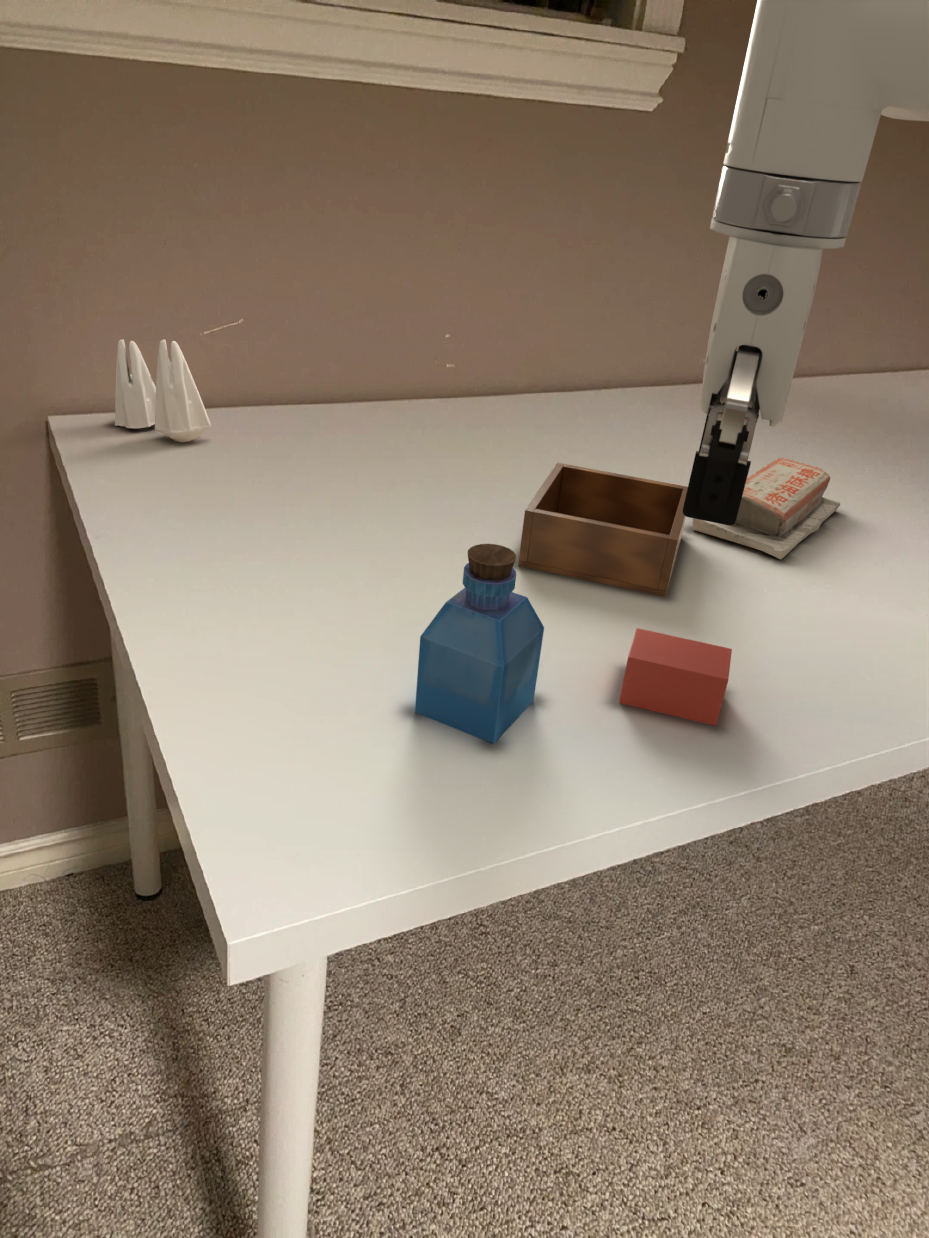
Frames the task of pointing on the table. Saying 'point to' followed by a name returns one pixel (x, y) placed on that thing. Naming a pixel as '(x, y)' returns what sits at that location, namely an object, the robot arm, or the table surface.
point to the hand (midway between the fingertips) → (713, 492)
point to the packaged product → (777, 508)
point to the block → (676, 676)
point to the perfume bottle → (481, 650)
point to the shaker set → (158, 394)
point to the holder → (604, 528)
